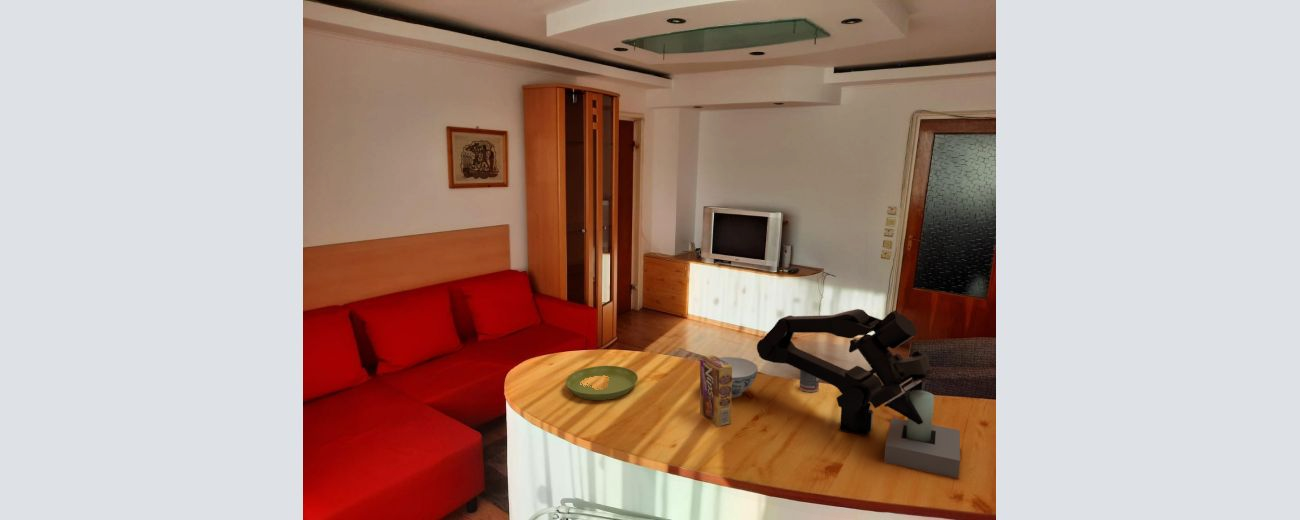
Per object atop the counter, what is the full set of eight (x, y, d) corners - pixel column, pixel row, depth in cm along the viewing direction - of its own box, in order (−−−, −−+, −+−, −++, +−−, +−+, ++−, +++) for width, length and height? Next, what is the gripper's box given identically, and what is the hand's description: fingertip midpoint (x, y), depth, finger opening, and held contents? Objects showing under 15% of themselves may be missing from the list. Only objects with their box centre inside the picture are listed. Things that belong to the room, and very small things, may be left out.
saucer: (652, 383, 165) (651, 373, 164) (609, 411, 148) (609, 400, 147) (596, 370, 176) (595, 360, 175) (550, 394, 159) (550, 384, 158)
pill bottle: (819, 393, 155) (820, 362, 154) (799, 391, 157) (800, 361, 155) (817, 385, 161) (818, 355, 159) (798, 384, 162) (799, 354, 160)
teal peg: (901, 441, 127) (904, 391, 124) (919, 438, 128) (923, 388, 125) (915, 452, 122) (920, 400, 120) (934, 449, 123) (939, 398, 121)
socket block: (884, 462, 121) (885, 445, 120) (891, 433, 133) (892, 417, 132) (958, 478, 115) (960, 460, 114) (958, 446, 127) (959, 430, 126)
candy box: (732, 423, 139) (733, 365, 136) (718, 427, 137) (718, 368, 135) (713, 409, 147) (713, 354, 144) (699, 413, 145) (699, 357, 142)
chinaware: (746, 409, 147) (746, 381, 146) (694, 397, 154) (694, 371, 153) (764, 387, 160) (765, 362, 158) (716, 378, 167) (716, 353, 166)
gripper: (887, 351, 117) (938, 418, 111) (925, 331, 129) (973, 390, 123) (850, 376, 124) (895, 440, 119) (889, 354, 137) (933, 412, 131)
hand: (926, 419), depth 123 cm, fingers closed on teal peg, 5 cm apart
